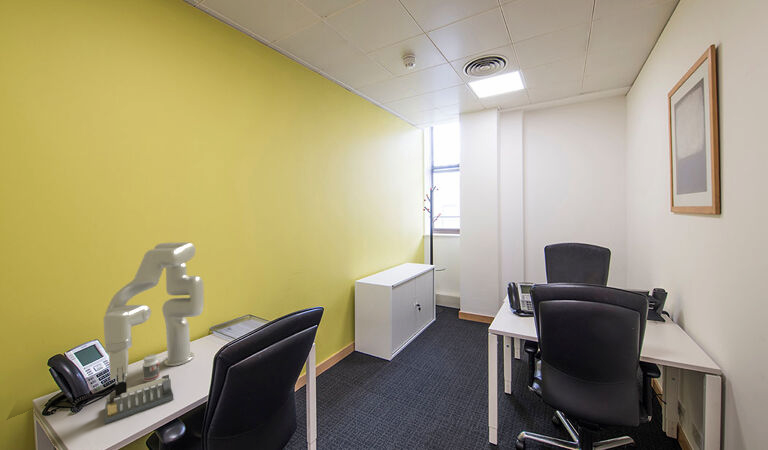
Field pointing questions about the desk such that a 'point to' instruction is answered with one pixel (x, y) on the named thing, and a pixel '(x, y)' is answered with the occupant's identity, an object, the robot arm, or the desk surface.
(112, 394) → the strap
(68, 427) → the desk surface
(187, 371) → the desk surface
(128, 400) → the grey slotted rack
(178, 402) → the desk surface
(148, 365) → the pill bottle
